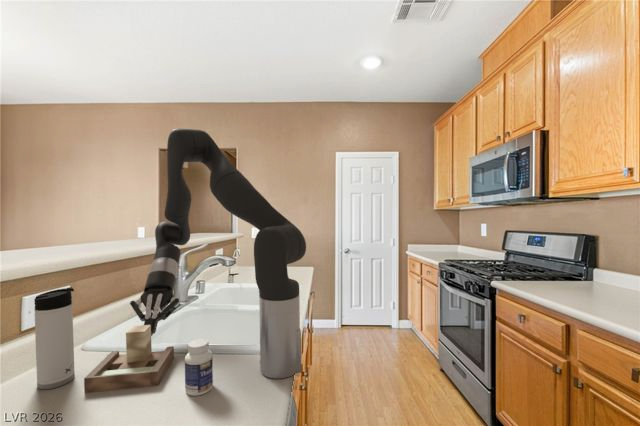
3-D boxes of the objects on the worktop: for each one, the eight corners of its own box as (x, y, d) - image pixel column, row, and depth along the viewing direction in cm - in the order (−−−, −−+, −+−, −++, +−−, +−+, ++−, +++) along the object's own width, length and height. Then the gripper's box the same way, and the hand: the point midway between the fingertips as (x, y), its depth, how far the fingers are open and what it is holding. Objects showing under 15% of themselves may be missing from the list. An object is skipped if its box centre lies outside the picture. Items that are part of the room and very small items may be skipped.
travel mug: (79, 380, 69) (76, 290, 68) (39, 393, 64) (35, 296, 64) (73, 370, 73) (70, 285, 73) (35, 382, 68) (32, 291, 68)
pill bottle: (203, 398, 62) (202, 349, 62) (179, 395, 63) (178, 347, 63) (217, 383, 67) (217, 338, 67) (195, 380, 69) (194, 336, 68)
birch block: (151, 352, 77) (150, 324, 77) (145, 360, 73) (144, 331, 73) (133, 354, 76) (133, 326, 76) (126, 362, 73) (125, 332, 72)
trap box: (174, 358, 79) (173, 346, 78) (157, 385, 67) (157, 371, 67) (112, 363, 76) (112, 351, 76) (84, 392, 64) (84, 378, 64)
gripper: (133, 270, 88) (114, 331, 77) (183, 268, 91) (172, 326, 79) (141, 284, 94) (124, 343, 82) (188, 282, 96) (178, 338, 84)
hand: (148, 335), depth 80 cm, fingers closed
